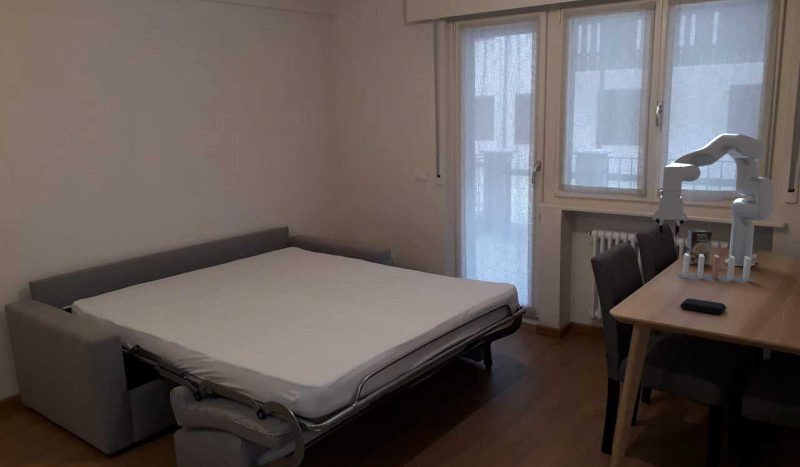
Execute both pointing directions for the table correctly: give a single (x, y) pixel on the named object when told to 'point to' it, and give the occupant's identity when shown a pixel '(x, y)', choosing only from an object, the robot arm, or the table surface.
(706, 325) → the table surface
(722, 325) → the table surface
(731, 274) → the domino
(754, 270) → the table surface
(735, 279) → the domino mat
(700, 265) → the domino
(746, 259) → the domino
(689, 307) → the carrying case or bag
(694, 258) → the coffee box
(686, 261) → the domino
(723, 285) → the table surface
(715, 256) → the red domino
